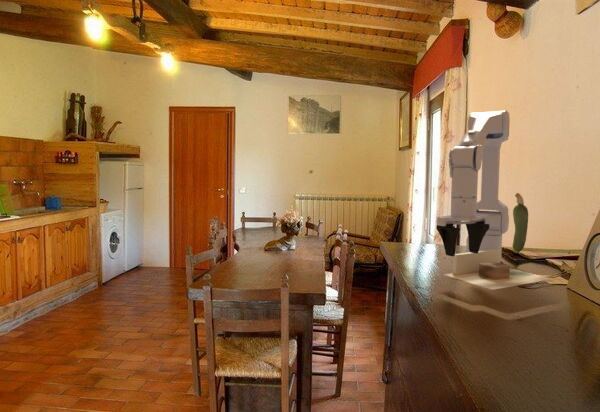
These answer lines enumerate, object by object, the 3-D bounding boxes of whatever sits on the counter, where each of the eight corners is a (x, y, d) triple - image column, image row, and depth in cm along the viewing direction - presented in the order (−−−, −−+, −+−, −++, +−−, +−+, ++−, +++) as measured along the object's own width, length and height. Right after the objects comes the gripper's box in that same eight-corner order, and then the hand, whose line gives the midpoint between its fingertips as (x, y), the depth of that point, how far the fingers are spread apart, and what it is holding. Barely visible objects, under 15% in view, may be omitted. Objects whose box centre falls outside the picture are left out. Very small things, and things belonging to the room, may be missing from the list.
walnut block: (478, 275, 107) (478, 263, 107) (492, 273, 109) (493, 261, 109) (495, 279, 102) (495, 267, 102) (509, 277, 104) (509, 265, 104)
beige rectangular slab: (452, 273, 109) (453, 254, 108) (496, 266, 116) (496, 248, 115) (456, 274, 108) (456, 255, 107) (500, 267, 114) (500, 249, 114)
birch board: (443, 278, 108) (443, 274, 108) (500, 269, 117) (500, 265, 117) (491, 294, 94) (492, 289, 94) (552, 282, 103) (553, 278, 103)
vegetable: (525, 253, 139) (528, 192, 137) (527, 255, 134) (530, 193, 133) (510, 252, 140) (512, 192, 138) (512, 254, 136) (514, 193, 134)
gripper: (453, 199, 92) (451, 260, 94) (500, 197, 99) (497, 254, 100) (431, 197, 99) (429, 254, 100) (476, 195, 105) (474, 249, 106)
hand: (462, 254), depth 100 cm, fingers open, 7 cm apart
